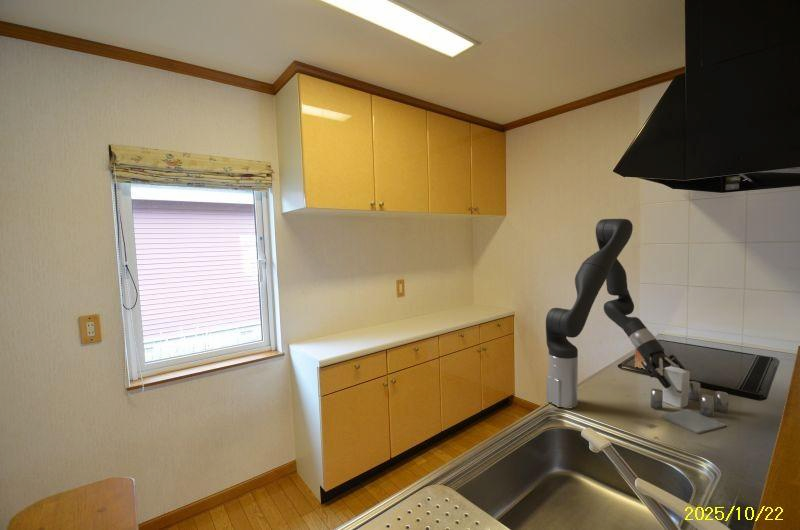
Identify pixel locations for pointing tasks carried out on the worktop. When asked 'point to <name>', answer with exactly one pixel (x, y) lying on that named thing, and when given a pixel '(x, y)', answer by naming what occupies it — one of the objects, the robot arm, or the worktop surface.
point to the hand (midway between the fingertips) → (677, 385)
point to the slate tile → (692, 421)
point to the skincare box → (676, 386)
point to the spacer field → (694, 395)
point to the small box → (638, 359)
